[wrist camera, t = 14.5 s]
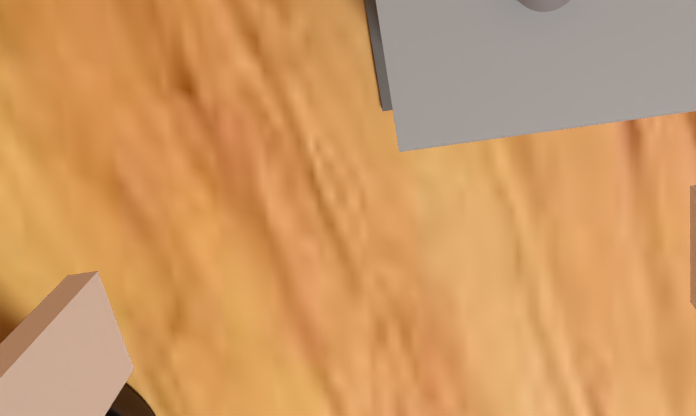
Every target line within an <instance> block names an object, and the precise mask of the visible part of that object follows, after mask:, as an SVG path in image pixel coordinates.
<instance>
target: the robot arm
mask: <svg viewBox="0 0 696 416" xmlns="http://www.w3.org/2000/svg"><path fill="white" fill-rule="evenodd" d="M690 302H691V303H692V305H693V306H694V307H695V308H696V185H694V186H690ZM133 370H134V367H133V365H132V362H131V359H130V357H129V354H128V351H127V348H126V346H125V343H124V340H123V338H122V335H121V332H120V329H119V327H118V324H117V321H116V319H115V316H114V313H113V311H112V308H111V305H110V302H109V300H108V297H107V294H106V292H105V289H104V286H103V283H102V281H101V278H100V275H99V273H98V271H96V272H89V273H82V274H75V275H68V276H67V277H66V278H65V279H64V280H63V281H62V282H61V283H60V284H59V285H58V286H57V287H56V288H55V289H54V290H53V291H52V292H51V293H50V294H49V295H48V296H47V297H46V298H45V299H44V300H43V301H42V302H41V303H40V304H39V305H38V306H37V307H36V308H35V309H34V310H33V311H32V312H31V313H30V314H29V315H28V316H27V317H26V318H25V319H24V320H23V321H22V322H21V323H20V324H19V325H18V326H17V327H16V328H15V329H14V330H13V331H12V332H11V333H10V334H9V335H8V336H7V337H6V338H5V339H4V340H3V341H2V342H1V343H0V416H155V415H154V414H153V412H152V411H151V409H150V408H149V407H148V406H147V404H146V403H145V402H144V401H143V400H142V399H141V398H140V397H139V396H138V395H137V394H136V393H135V392H134V391H133V390H131V389H130V388H129V387H127V386H126V385H125V383H126V381H127V379H128V378H129V376H130V375H131V373H132V371H133Z"/></svg>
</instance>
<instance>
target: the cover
mask: <svg viewBox="0 0 696 416" xmlns="http://www.w3.org/2000/svg"><path fill="white" fill-rule="evenodd" d="M376 6H377V12H378V19H379V25H380V32H381V38H382V44H383V51H384V57H385V63H386V70H387V76H388V82H389V89H390V95H391V102H392V108H393V114H394V121H395V127H396V133H397V140H398V146H399V152H403V151H410V150H417V149H424V148H432V147H439V146H446V145H453V144H460V143H468V142H475V141H482V140H489V139H497V138H504V137H511V136H518V135H525V134H533V133H540V132H547V131H554V130H561V129H569V128H576V127H583V126H590V125H598V124H605V123H612V122H619V121H626V120H634V119H641V118H648V117H655V116H663V115H670V114H677V113H684V112H691V111H696V0H376Z"/></svg>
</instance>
